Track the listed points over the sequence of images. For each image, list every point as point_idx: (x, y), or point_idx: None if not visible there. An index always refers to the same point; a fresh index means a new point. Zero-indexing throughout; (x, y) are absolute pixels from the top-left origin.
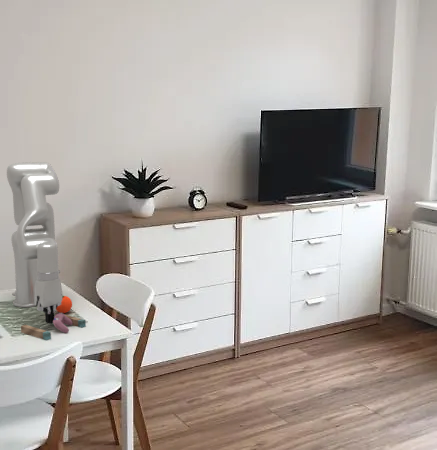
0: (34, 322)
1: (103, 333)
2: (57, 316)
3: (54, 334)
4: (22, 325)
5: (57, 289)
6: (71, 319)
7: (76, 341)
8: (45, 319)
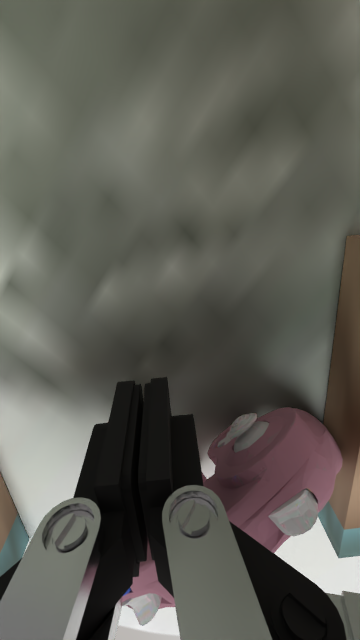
0: (144, 67)
1: None
2: (167, 596)
3: None
4: None
5: None
6: (351, 463)
7: (126, 623)
8: (91, 436)
